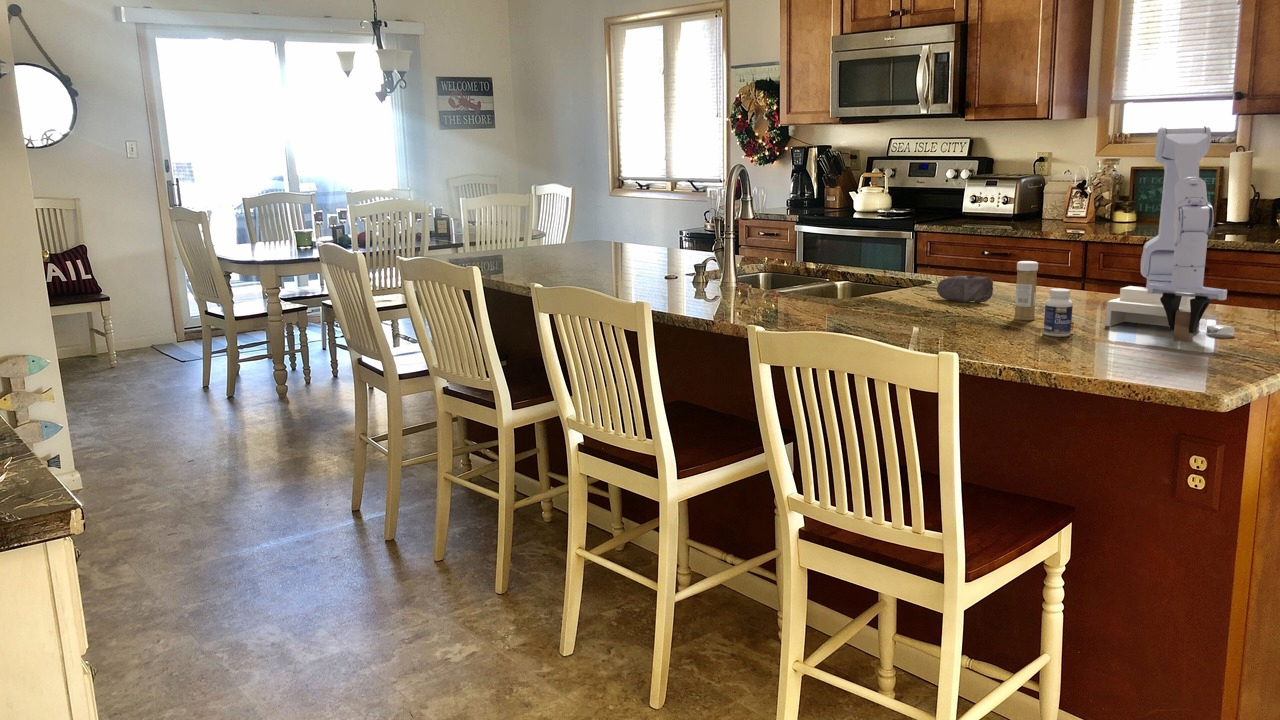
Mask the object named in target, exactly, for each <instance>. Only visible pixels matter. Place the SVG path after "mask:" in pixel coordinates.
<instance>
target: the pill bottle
mask: <svg viewBox="0 0 1280 720" xmlns="http://www.w3.org/2000/svg"><path fill="white" fill-rule="evenodd" d="M1049 297H1050V298H1048V299H1046V300H1045V306H1044V319H1043V331H1042V333H1043V334H1044V335H1045V336H1048V337H1049V336H1050V337H1054V338H1055V337H1056V338H1061V337H1063V338H1065V337H1069V336H1070V335H1071V332H1072V331H1071V330H1072V319H1073V308H1074V306H1073V301H1072V300H1071V299H1069V298H1070V297H1071V289H1067V288H1059V287H1058V288H1055V287H1054V288H1051V289H1049Z"/></svg>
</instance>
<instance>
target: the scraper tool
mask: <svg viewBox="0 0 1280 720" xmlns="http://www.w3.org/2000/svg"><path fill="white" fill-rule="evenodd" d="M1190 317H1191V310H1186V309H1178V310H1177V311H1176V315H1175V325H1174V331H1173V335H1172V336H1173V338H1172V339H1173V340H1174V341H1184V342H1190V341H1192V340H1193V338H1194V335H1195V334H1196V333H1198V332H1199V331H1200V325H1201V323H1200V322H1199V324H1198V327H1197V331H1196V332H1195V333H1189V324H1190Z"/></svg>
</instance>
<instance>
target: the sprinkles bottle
mask: <svg viewBox="0 0 1280 720" xmlns="http://www.w3.org/2000/svg"><path fill="white" fill-rule="evenodd" d="M1038 270H1039V262H1037V261H1032V260H1020V261H1018V262H1016V273H1017V274H1016V282H1015V283H1016V284H1015V286H1016V287H1015V301H1014V304H1015V305H1014V306H1015V308H1014V316H1013V317H1014V319H1015V320H1016V321H1026V322H1028V321H1029V322H1030V321H1033V320H1035V314H1036V313H1035V311H1036V310H1035V309H1036V302H1037V301H1036V300H1037V299H1036V298H1037V275H1038V274H1037V273H1038Z"/></svg>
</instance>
